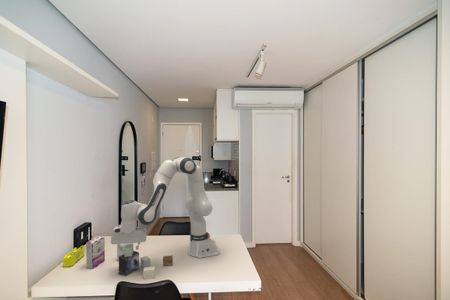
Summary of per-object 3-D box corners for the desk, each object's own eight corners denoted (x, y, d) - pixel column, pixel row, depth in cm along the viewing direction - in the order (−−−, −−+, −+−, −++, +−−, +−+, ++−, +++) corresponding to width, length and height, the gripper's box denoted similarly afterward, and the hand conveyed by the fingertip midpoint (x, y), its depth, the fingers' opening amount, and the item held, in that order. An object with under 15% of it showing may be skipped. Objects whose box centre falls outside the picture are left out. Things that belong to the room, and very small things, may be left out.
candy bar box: (98, 260, 159) (98, 235, 159) (105, 260, 158) (104, 236, 158) (85, 268, 148) (85, 242, 148) (92, 269, 147) (92, 243, 147)
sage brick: (133, 251, 148) (133, 244, 148) (131, 256, 142) (131, 247, 142) (126, 252, 147) (126, 244, 147) (124, 256, 141) (124, 248, 141)
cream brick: (144, 275, 139) (144, 267, 139) (154, 274, 141) (154, 266, 141) (143, 279, 136) (143, 270, 135) (154, 278, 137) (154, 269, 137)
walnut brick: (163, 263, 154) (163, 256, 154) (172, 262, 155) (172, 255, 155) (162, 266, 150) (162, 258, 150) (172, 265, 151) (172, 258, 151)
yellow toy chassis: (72, 267, 149) (72, 254, 149) (62, 267, 149) (62, 254, 149) (84, 256, 165) (84, 244, 165) (76, 256, 165) (76, 244, 165)
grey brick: (146, 263, 155) (146, 255, 155) (150, 266, 150) (150, 258, 150) (140, 265, 152) (140, 257, 152) (144, 268, 147) (144, 260, 147)
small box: (125, 276, 138) (125, 259, 138) (117, 273, 141) (117, 256, 141) (139, 268, 147) (139, 252, 147) (132, 266, 151) (132, 249, 151)
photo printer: (132, 255, 166) (132, 238, 165) (133, 257, 162) (133, 240, 162) (116, 259, 160) (116, 241, 160) (117, 261, 156) (117, 243, 156)
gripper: (147, 224, 149) (147, 246, 149) (112, 226, 145) (112, 249, 145) (146, 228, 143) (146, 250, 143) (109, 230, 139) (109, 253, 139)
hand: (129, 249), depth 144 cm, fingers open, 8 cm apart
